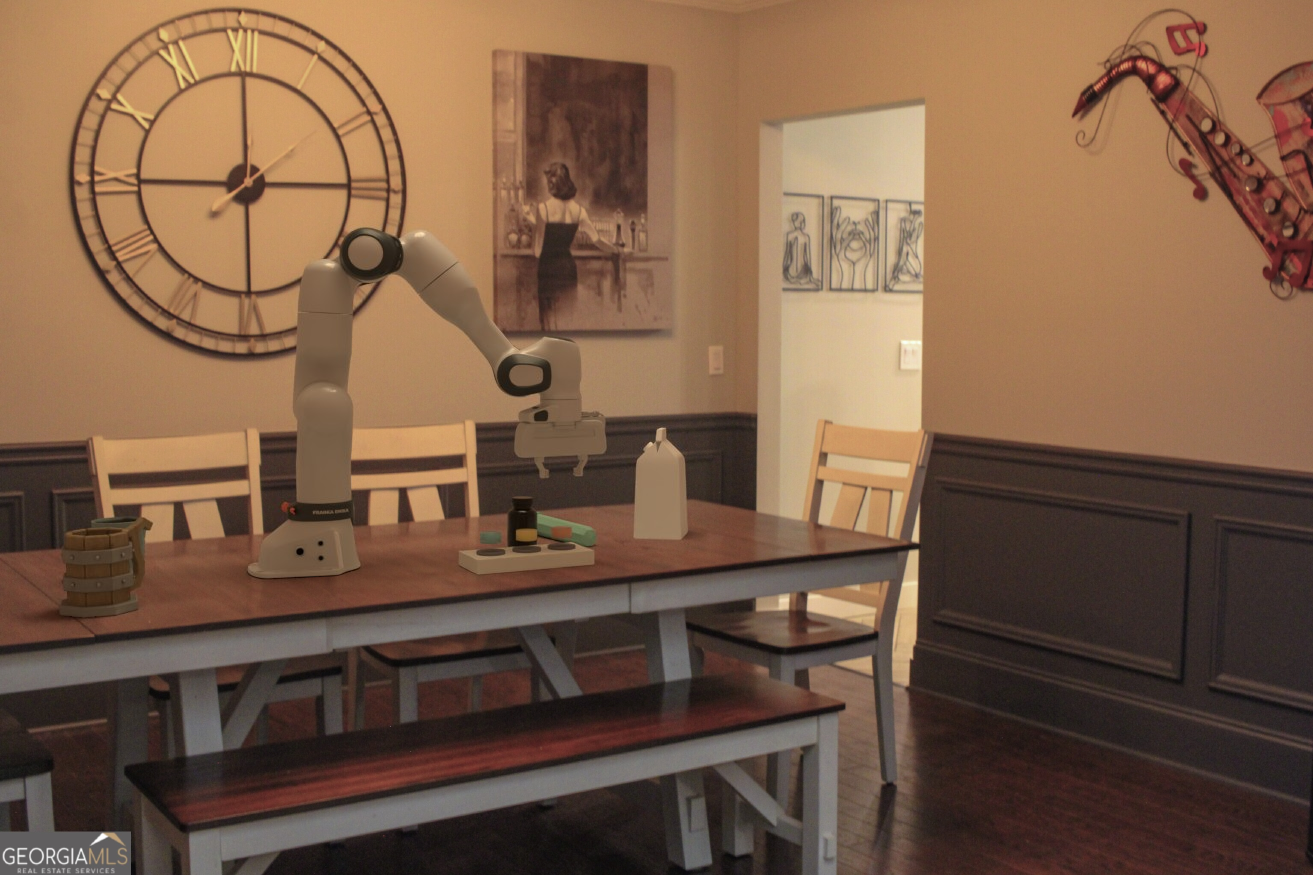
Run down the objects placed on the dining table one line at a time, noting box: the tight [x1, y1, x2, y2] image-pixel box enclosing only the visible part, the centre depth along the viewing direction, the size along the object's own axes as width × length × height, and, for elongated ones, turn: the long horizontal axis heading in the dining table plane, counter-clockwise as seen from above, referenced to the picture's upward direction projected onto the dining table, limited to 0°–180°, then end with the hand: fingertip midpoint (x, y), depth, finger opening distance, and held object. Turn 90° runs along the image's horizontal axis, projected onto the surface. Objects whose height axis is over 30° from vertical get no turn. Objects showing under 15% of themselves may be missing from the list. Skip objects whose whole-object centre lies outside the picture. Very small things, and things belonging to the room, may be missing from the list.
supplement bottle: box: [506, 495, 538, 547], centre depth 289 cm, size 7×7×12 cm
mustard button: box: [516, 529, 538, 541], centre depth 271 cm, size 4×4×2 cm
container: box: [536, 511, 598, 548], centre depth 304 cm, size 6×6×25 cm
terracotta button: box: [551, 526, 572, 539], centre depth 274 cm, size 4×4×2 cm
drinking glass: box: [90, 516, 147, 569], centre depth 254 cm, size 10×10×12 cm
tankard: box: [59, 516, 154, 619], centre depth 229 cm, size 20×13×15 cm, turn 158°
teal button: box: [479, 530, 502, 545], centre depth 267 cm, size 4×4×2 cm
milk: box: [633, 427, 689, 541], centre depth 310 cm, size 12×12×26 cm
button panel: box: [458, 542, 595, 576], centre depth 271 cm, size 26×12×4 cm, turn 117°
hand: (561, 476), depth 273 cm, fingers open, 6 cm apart
